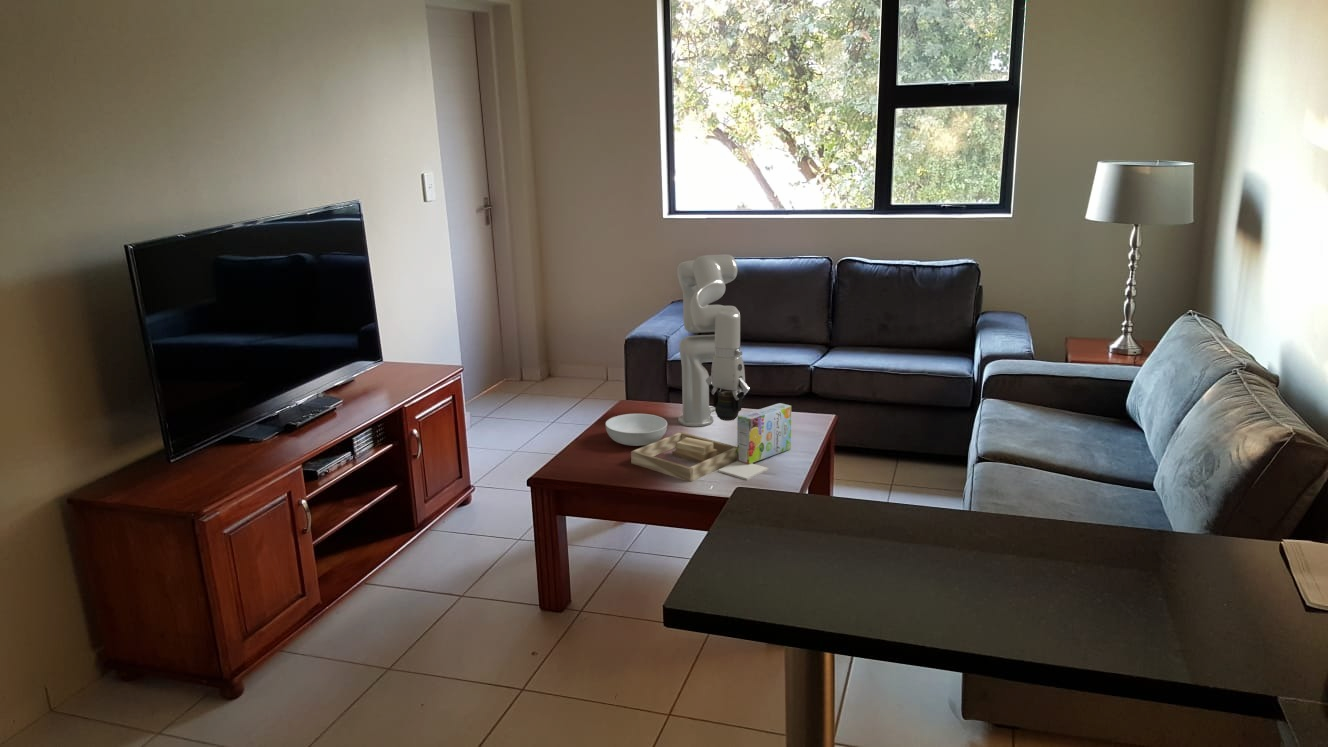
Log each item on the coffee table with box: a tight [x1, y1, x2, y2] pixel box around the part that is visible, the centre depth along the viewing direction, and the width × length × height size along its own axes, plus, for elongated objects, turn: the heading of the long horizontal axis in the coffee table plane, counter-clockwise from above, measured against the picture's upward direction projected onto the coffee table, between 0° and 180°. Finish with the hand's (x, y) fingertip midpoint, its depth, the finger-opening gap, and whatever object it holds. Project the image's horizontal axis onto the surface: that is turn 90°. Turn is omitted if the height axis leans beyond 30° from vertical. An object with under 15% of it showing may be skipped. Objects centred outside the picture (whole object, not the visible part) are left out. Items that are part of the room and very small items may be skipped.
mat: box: [717, 461, 769, 481], centre depth 278 cm, size 11×11×1 cm
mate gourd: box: [714, 390, 740, 422], centre depth 274 cm, size 7×8×10 cm
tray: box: [630, 431, 737, 483], centre depth 286 cm, size 24×24×4 cm
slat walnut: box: [671, 449, 703, 464], centre depth 291 cm, size 7×14×2 cm, turn 48°
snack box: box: [736, 402, 792, 464], centre depth 289 cm, size 21×6×15 cm, turn 135°
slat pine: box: [677, 437, 713, 453], centre depth 289 cm, size 6×10×2 cm, turn 57°
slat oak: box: [675, 446, 717, 461], centre depth 290 cm, size 6×12×2 cm, turn 46°
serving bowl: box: [604, 413, 668, 447], centre depth 305 cm, size 21×21×7 cm
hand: (727, 408), depth 274 cm, fingers closed on mate gourd, 7 cm apart
